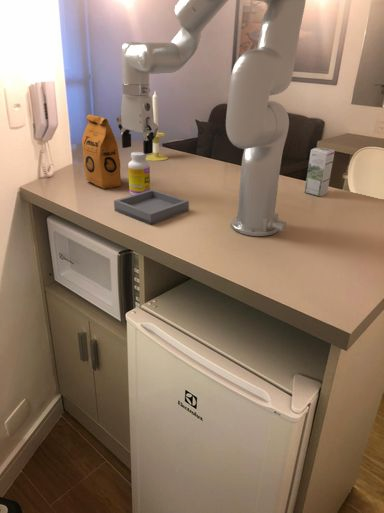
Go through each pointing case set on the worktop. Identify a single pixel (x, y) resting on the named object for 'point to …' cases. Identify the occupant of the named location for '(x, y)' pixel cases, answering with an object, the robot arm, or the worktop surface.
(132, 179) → the supplement bottle
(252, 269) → the worktop surface
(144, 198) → the tray
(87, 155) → the coffee package
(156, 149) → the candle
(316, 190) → the syrup box
